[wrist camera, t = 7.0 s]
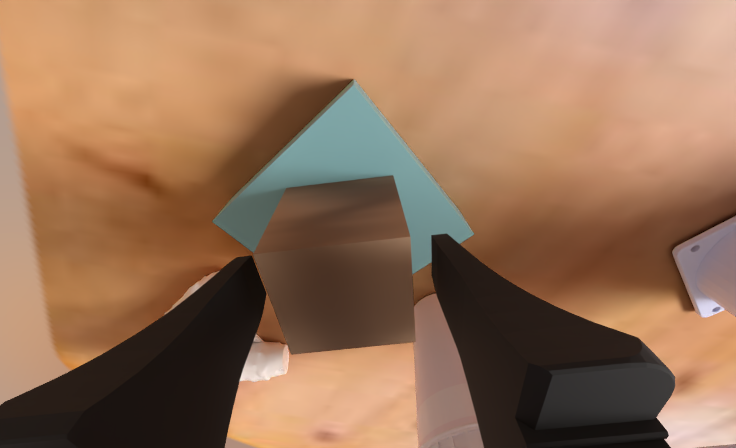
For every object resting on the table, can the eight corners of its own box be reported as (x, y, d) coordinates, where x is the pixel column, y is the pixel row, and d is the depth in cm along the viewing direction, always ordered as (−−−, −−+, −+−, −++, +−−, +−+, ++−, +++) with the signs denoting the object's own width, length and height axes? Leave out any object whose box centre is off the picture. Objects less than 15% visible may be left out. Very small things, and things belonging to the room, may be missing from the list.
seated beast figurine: (298, 353, 23) (251, 599, 13) (202, 378, 24) (88, 621, 14) (230, 261, 19) (70, 530, 8) (115, 298, 20) (-148, 572, 9)
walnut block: (393, 175, 13) (410, 236, 9) (399, 261, 16) (415, 341, 11) (286, 187, 13) (252, 254, 9) (309, 271, 16) (291, 354, 12)
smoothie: (391, 281, 20) (444, 650, 8) (489, 273, 20) (698, 634, 8) (394, 345, 23) (434, 674, 11) (478, 339, 23) (612, 663, 11)
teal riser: (354, 78, 14) (353, 85, 11) (459, 210, 17) (474, 234, 15) (231, 198, 16) (211, 221, 14) (344, 290, 20) (342, 319, 18)
